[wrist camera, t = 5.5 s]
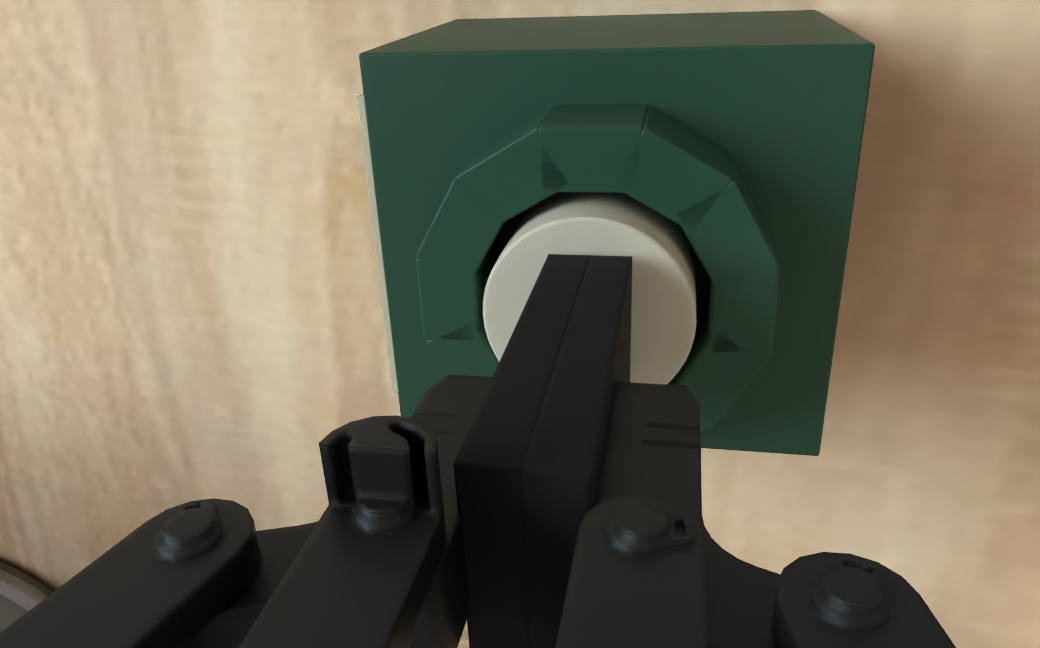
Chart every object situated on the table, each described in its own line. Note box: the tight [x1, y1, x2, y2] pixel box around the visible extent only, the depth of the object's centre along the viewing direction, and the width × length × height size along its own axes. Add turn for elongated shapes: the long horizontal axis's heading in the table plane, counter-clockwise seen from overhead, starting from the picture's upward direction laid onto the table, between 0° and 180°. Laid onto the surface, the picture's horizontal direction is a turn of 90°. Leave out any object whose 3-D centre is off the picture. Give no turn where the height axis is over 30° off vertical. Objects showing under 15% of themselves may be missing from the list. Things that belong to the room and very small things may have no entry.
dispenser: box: [359, 10, 875, 456], centre depth 20 cm, size 10×9×10 cm
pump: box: [483, 192, 696, 385], centre depth 16 cm, size 4×4×2 cm
